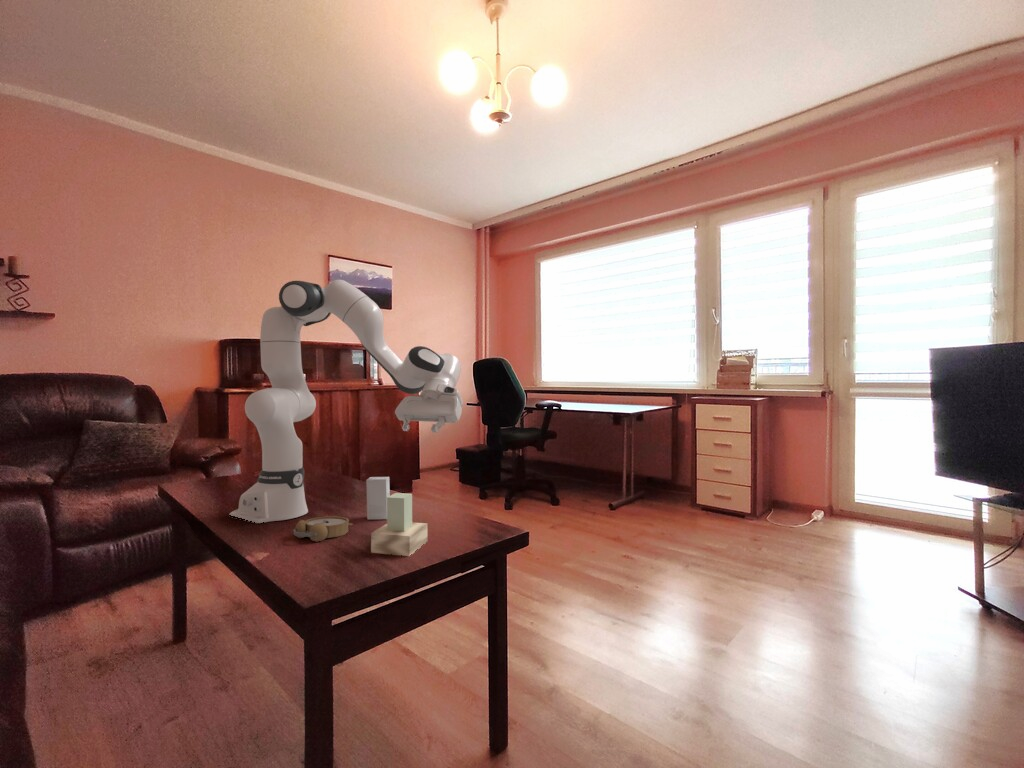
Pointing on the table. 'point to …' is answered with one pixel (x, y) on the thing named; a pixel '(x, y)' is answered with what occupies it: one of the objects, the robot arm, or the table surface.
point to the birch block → (399, 540)
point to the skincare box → (377, 497)
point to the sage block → (399, 511)
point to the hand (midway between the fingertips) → (419, 430)
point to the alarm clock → (322, 528)
